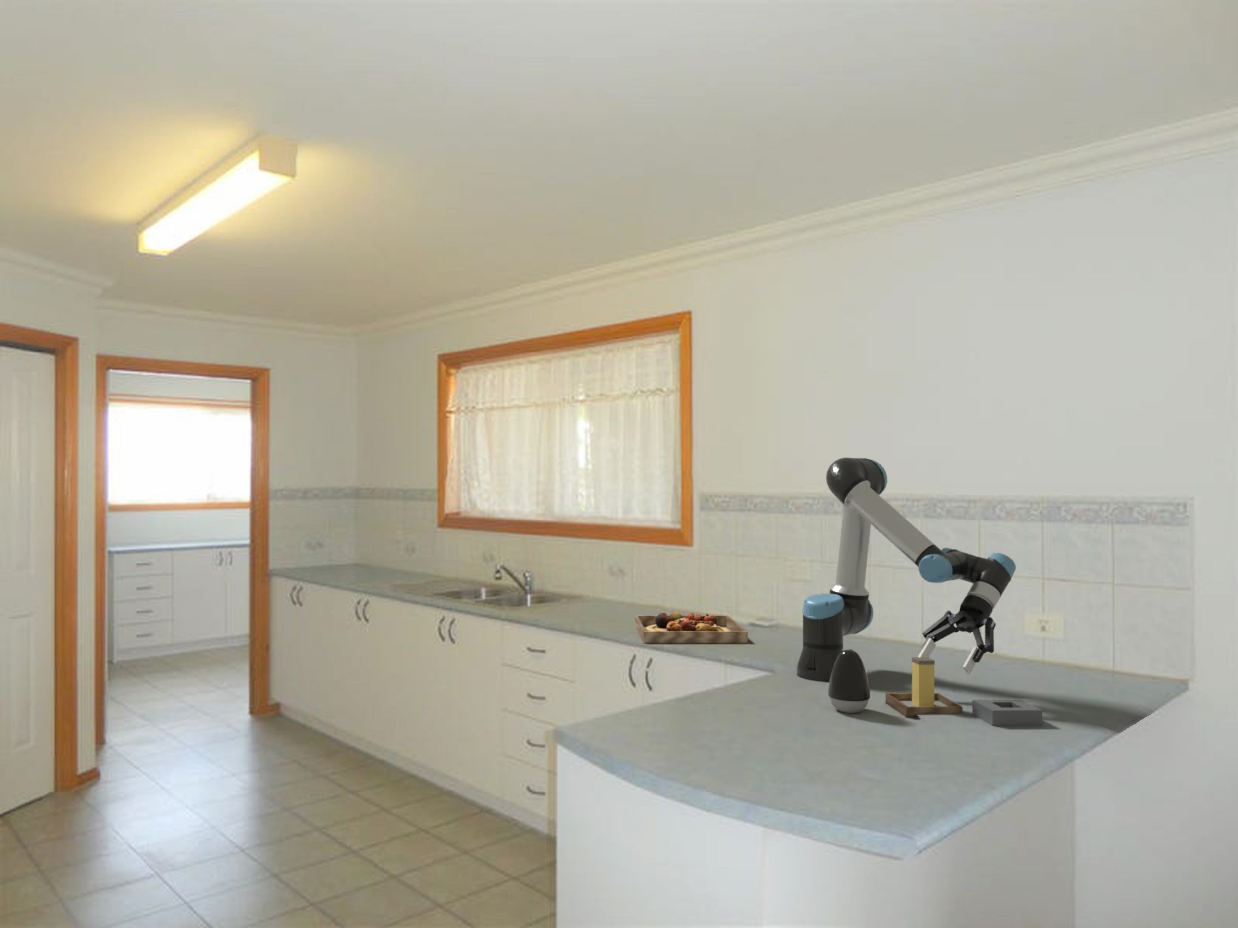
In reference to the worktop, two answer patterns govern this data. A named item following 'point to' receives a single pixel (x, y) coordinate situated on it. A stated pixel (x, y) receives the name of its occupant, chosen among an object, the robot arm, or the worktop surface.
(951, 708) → the tray
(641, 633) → the wooden fruit tray
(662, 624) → the wooden plate with food
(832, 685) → the black egg shaped container
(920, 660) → the plug
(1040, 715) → the grey block with hole
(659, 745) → the worktop surface
